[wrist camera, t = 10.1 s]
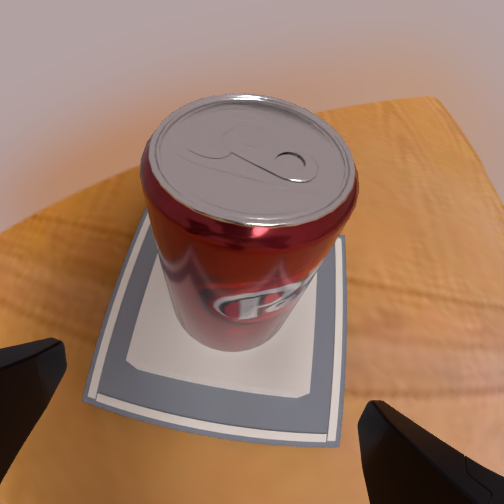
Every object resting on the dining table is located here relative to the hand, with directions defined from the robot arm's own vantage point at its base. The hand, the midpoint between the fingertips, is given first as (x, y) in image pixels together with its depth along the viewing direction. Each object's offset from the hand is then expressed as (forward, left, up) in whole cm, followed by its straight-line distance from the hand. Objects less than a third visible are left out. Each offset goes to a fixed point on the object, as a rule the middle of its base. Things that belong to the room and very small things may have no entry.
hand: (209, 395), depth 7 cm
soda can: (+2, +7, -10) cm, 12 cm away
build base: (+2, +7, -13) cm, 15 cm away
